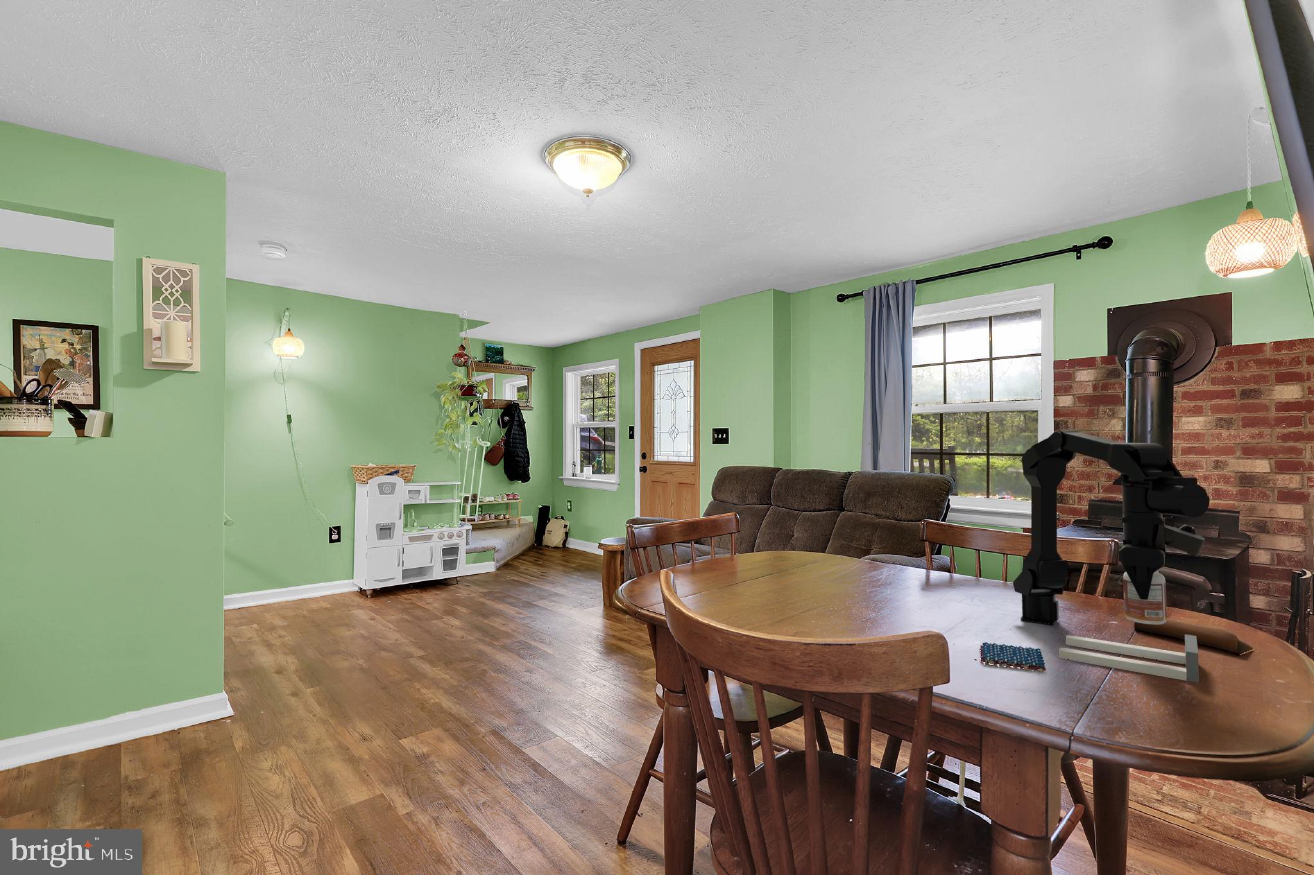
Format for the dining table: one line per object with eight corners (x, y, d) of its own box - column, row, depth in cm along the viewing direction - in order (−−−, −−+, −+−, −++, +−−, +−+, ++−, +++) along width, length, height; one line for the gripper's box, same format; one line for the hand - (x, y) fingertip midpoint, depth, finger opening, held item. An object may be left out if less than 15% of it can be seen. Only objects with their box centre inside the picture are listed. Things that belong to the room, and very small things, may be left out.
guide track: (1059, 658, 117) (1058, 631, 117) (1067, 642, 126) (1066, 617, 126) (1199, 682, 104) (1198, 653, 104) (1197, 663, 113) (1196, 636, 113)
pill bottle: (1135, 614, 117) (1134, 556, 117) (1174, 622, 111) (1172, 561, 112) (1117, 618, 114) (1115, 559, 114) (1155, 627, 109) (1153, 564, 109)
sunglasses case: (1262, 649, 119) (1252, 622, 118) (1246, 673, 117) (1236, 645, 115) (1155, 625, 136) (1145, 601, 134) (1140, 645, 133) (1129, 621, 132)
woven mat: (979, 650, 124) (979, 640, 124) (1041, 657, 119) (1041, 647, 119) (979, 667, 114) (979, 656, 114) (1046, 676, 109) (1046, 665, 109)
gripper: (1201, 519, 101) (1204, 614, 101) (1199, 508, 115) (1201, 592, 115) (1117, 515, 108) (1120, 604, 108) (1124, 506, 122) (1127, 584, 122)
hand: (1144, 595), depth 113 cm, fingers closed on pill bottle, 6 cm apart
